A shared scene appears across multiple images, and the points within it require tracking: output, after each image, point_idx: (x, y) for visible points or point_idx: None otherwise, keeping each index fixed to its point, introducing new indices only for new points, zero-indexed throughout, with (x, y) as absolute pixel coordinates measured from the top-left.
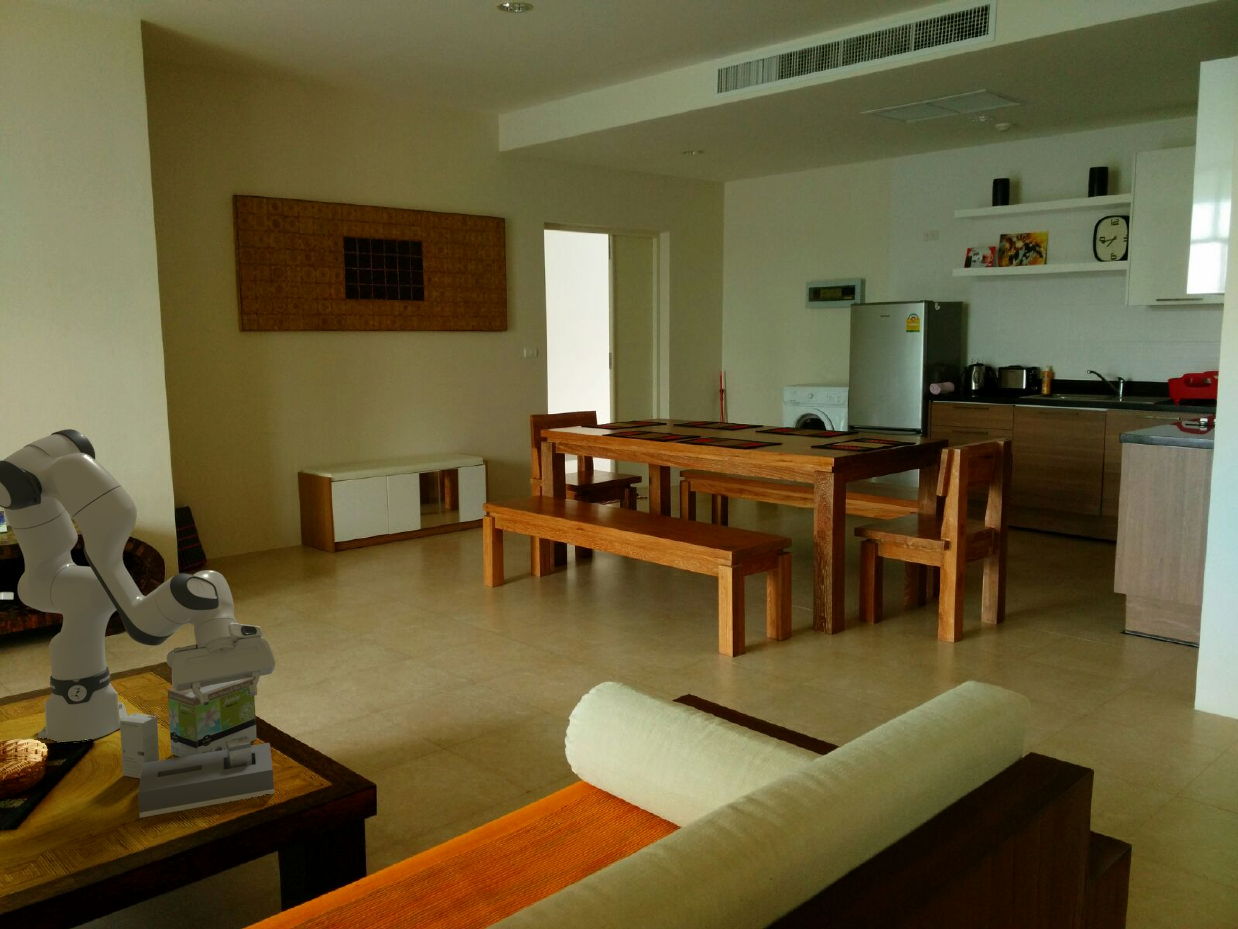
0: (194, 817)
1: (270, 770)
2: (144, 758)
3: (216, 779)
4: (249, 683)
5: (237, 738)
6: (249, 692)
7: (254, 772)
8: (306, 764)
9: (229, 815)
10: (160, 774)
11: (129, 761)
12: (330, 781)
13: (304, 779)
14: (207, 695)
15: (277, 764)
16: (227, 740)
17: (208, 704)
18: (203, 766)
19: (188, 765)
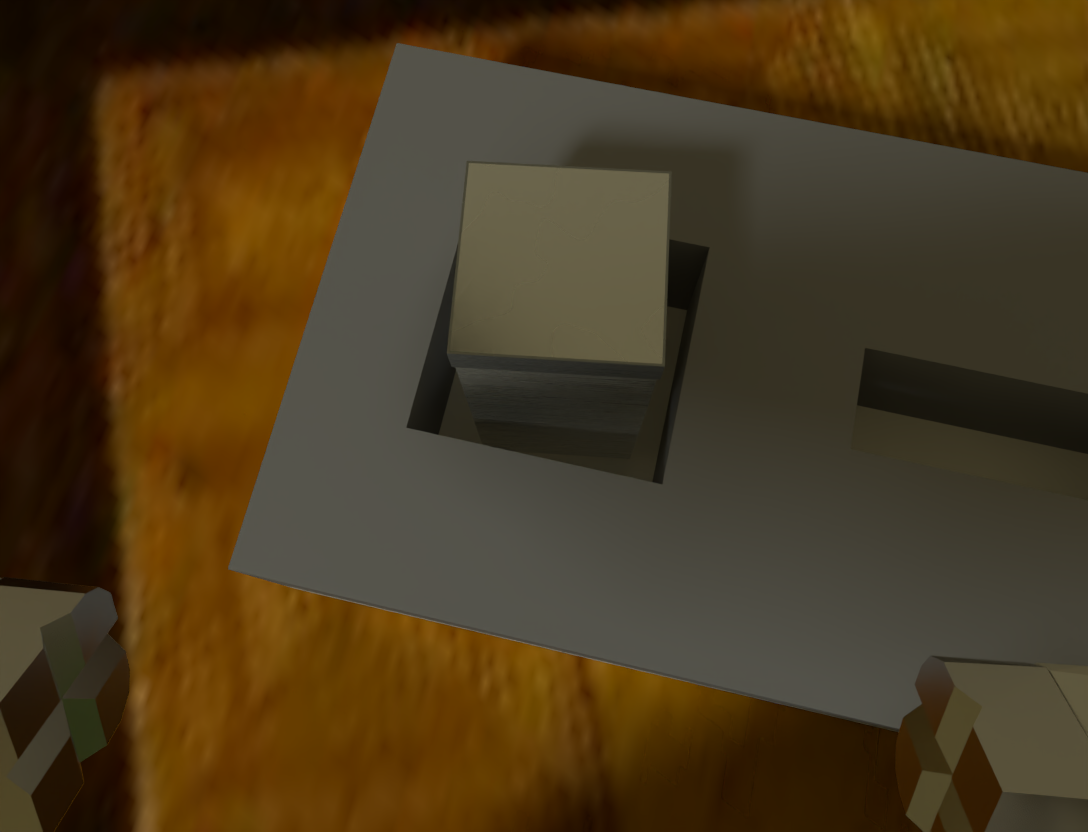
0: (898, 129)
1: (412, 47)
2: None
3: (786, 116)
4: None
5: (544, 354)
6: (83, 695)
7: (520, 72)
8: (90, 447)
9: (716, 45)
10: None
11: None
12: (91, 117)
13: (201, 232)
14: (997, 752)
15: (249, 578)
16: (645, 363)
17: (902, 735)
18: (843, 405)
19: (959, 501)
